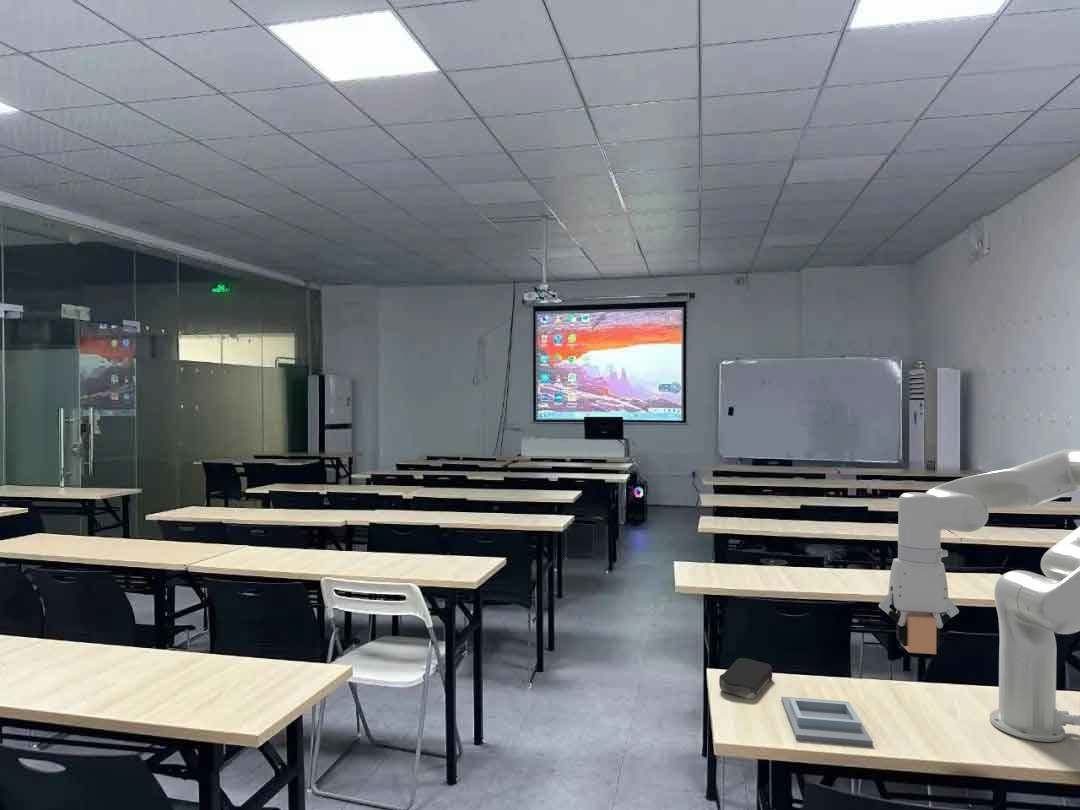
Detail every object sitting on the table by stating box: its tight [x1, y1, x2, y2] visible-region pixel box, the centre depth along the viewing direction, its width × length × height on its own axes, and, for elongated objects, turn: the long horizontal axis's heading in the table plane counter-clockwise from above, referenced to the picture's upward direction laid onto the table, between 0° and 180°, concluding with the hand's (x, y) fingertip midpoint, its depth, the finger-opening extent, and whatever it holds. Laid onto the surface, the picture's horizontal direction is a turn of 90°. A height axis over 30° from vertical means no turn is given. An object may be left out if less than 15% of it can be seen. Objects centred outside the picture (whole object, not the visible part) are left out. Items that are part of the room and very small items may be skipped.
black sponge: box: [718, 657, 773, 700], centre depth 164 cm, size 16×8×4 cm, turn 146°
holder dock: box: [780, 696, 874, 747], centre depth 145 cm, size 14×18×2 cm
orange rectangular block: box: [900, 612, 937, 655], centre depth 142 cm, size 5×5×7 cm
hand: (917, 643), depth 142 cm, fingers closed on orange rectangular block, 5 cm apart
